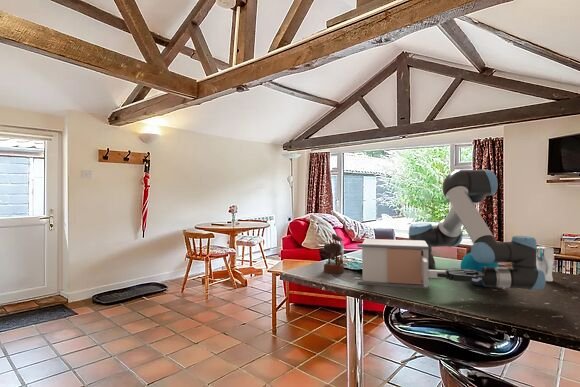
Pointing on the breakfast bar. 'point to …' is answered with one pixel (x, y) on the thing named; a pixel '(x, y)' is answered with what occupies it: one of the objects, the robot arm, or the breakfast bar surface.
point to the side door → (407, 266)
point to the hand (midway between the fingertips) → (428, 273)
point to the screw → (342, 252)
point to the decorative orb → (475, 265)
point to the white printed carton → (545, 261)
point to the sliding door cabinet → (385, 260)
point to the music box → (333, 248)
